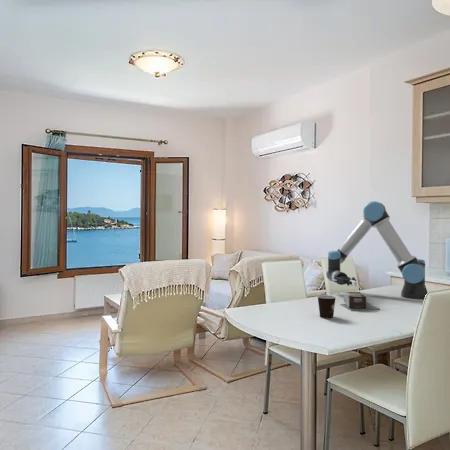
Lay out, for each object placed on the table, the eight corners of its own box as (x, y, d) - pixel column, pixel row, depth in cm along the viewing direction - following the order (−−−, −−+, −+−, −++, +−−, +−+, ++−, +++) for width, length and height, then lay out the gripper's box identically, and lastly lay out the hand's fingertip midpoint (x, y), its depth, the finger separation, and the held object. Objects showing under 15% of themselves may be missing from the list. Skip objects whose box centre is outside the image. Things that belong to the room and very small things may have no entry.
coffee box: (359, 291, 239) (367, 296, 223) (359, 302, 239) (366, 308, 223) (343, 291, 240) (349, 296, 224) (343, 302, 240) (349, 308, 224)
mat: (367, 304, 238) (367, 303, 238) (379, 309, 224) (379, 308, 224) (340, 304, 237) (340, 303, 237) (351, 310, 222) (350, 309, 222)
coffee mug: (325, 319, 203) (325, 299, 203) (314, 316, 211) (314, 296, 210) (343, 317, 208) (343, 296, 208) (331, 313, 216) (331, 294, 216)
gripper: (350, 283, 259) (366, 290, 236) (329, 284, 258) (344, 290, 234) (350, 271, 259) (366, 277, 236) (329, 271, 258) (344, 277, 234)
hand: (355, 284), depth 235 cm, fingers closed
